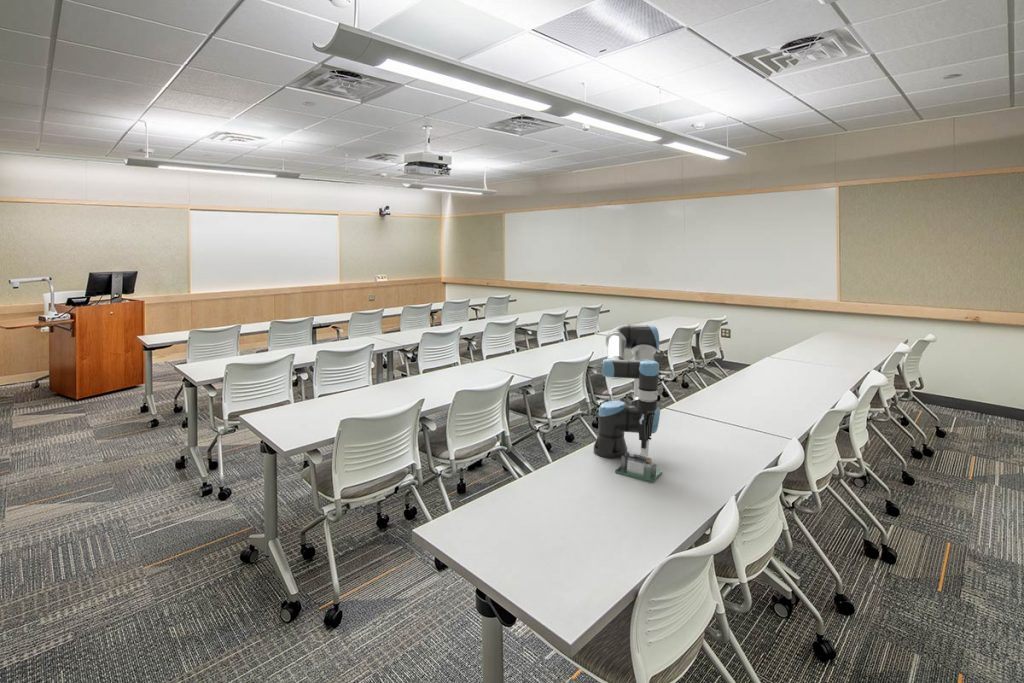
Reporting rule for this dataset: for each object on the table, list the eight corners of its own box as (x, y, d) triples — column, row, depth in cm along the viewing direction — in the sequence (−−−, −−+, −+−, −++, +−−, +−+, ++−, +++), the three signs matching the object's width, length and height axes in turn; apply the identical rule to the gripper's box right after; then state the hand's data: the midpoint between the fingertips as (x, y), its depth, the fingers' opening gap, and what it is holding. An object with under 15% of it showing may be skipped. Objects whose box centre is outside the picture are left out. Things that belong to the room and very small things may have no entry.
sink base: (615, 472, 215) (615, 457, 214) (625, 463, 224) (626, 449, 222) (652, 482, 206) (653, 467, 204) (662, 473, 215) (663, 458, 213)
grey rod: (623, 458, 217) (623, 454, 216) (625, 457, 218) (625, 452, 218) (650, 464, 210) (650, 460, 210) (651, 463, 212) (652, 458, 211)
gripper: (650, 404, 200) (647, 462, 205) (662, 397, 211) (658, 452, 215) (632, 401, 205) (629, 458, 209) (644, 394, 215) (641, 448, 219)
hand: (644, 454), depth 212 cm, fingers closed
